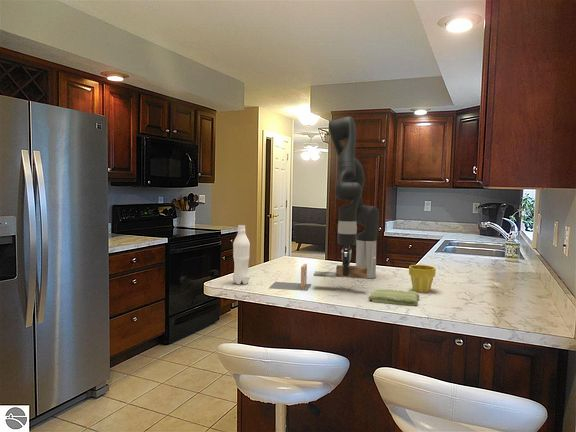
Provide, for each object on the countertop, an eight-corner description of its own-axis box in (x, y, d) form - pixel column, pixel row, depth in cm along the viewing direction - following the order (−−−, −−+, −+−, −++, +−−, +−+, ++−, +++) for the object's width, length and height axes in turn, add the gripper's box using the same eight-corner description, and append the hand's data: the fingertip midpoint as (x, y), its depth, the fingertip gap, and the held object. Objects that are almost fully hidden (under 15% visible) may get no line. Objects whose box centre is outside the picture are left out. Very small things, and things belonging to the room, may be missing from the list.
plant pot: (421, 294, 166) (422, 270, 166) (402, 288, 176) (403, 265, 175) (440, 292, 171) (441, 268, 171) (421, 286, 180) (422, 263, 180)
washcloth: (372, 294, 168) (373, 286, 167) (419, 299, 162) (419, 290, 161) (367, 303, 155) (367, 294, 155) (417, 308, 149) (417, 299, 149)
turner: (366, 275, 171) (367, 266, 171) (366, 279, 166) (366, 269, 165) (315, 273, 176) (315, 263, 175) (313, 276, 170) (313, 266, 169)
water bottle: (252, 282, 183) (253, 225, 181) (244, 286, 177) (244, 226, 175) (238, 280, 186) (238, 224, 184) (229, 284, 180) (229, 225, 178)
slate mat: (311, 285, 179) (311, 284, 179) (307, 292, 168) (307, 290, 168) (275, 283, 183) (275, 281, 182) (268, 289, 171) (268, 288, 171)
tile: (306, 285, 177) (306, 263, 177) (303, 289, 170) (304, 267, 170) (303, 284, 178) (303, 263, 177) (300, 288, 171) (301, 266, 170)
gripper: (355, 234, 161) (354, 278, 162) (357, 230, 175) (356, 271, 176) (336, 233, 163) (335, 277, 164) (339, 230, 177) (338, 270, 178)
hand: (346, 274), depth 170 cm, fingers closed on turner, 4 cm apart
